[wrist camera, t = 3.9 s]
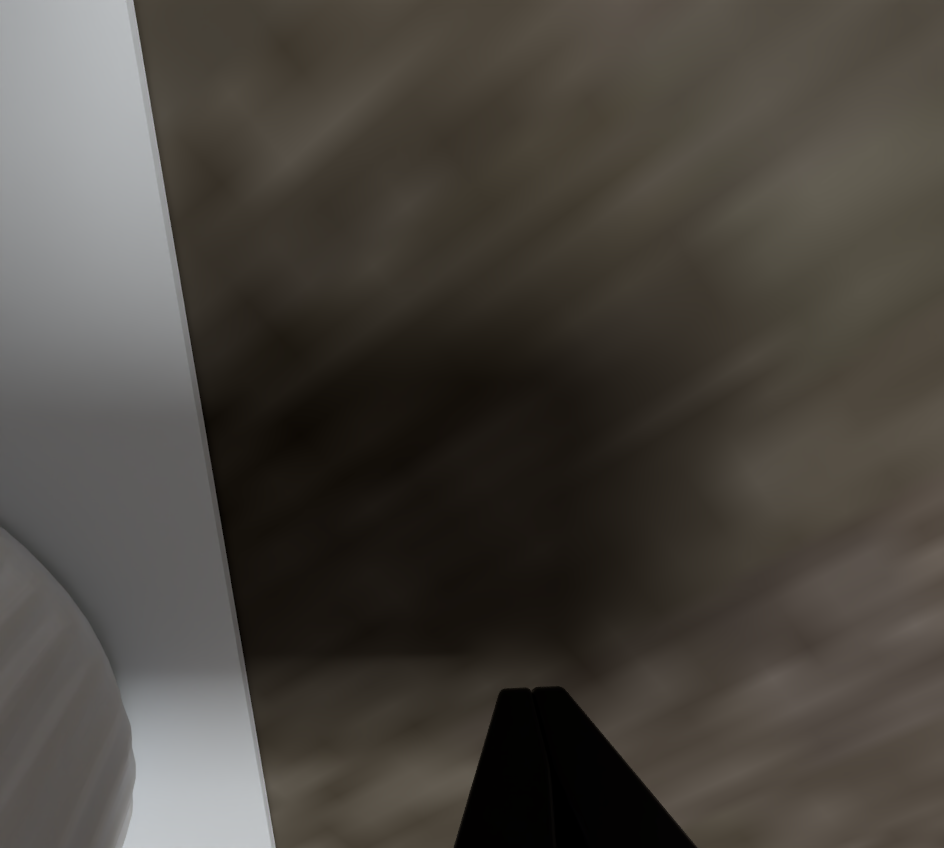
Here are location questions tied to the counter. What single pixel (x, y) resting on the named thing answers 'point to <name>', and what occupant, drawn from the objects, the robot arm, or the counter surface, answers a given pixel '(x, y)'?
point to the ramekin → (57, 718)
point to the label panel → (117, 416)
